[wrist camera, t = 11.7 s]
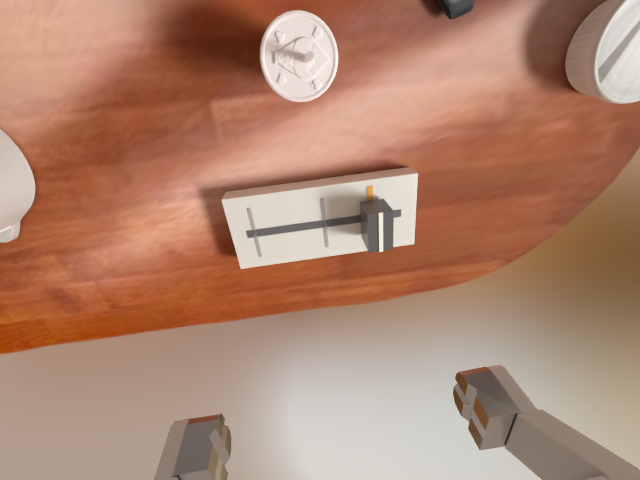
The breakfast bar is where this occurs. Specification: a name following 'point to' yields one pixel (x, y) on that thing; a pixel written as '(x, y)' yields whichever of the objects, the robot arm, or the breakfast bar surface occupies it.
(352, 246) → the fader console
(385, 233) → the fader knob
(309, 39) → the smoothie
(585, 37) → the ramekin
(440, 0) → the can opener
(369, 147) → the breakfast bar surface
